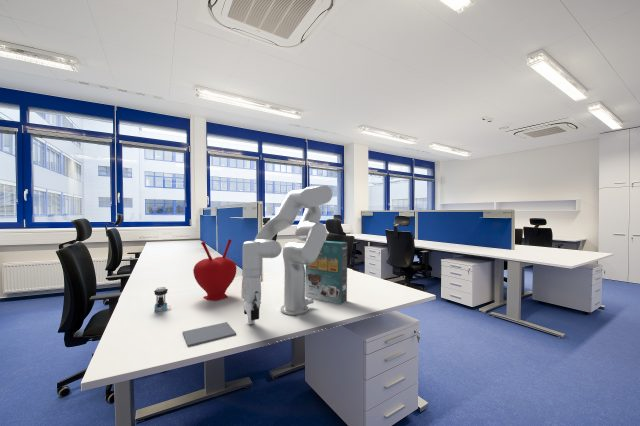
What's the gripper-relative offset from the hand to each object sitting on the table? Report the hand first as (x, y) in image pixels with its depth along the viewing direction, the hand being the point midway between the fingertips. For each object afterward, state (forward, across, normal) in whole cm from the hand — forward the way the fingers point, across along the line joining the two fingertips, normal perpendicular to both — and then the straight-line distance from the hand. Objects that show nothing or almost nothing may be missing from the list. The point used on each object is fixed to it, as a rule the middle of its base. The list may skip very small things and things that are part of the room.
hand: (251, 316), depth 107 cm
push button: (+3, -37, -28) cm, 47 cm away
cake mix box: (+3, -10, +44) cm, 45 cm away
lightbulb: (+3, 0, 0) cm, 3 cm away
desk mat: (+3, 0, -16) cm, 16 cm away
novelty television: (+3, -43, -3) cm, 43 cm away
